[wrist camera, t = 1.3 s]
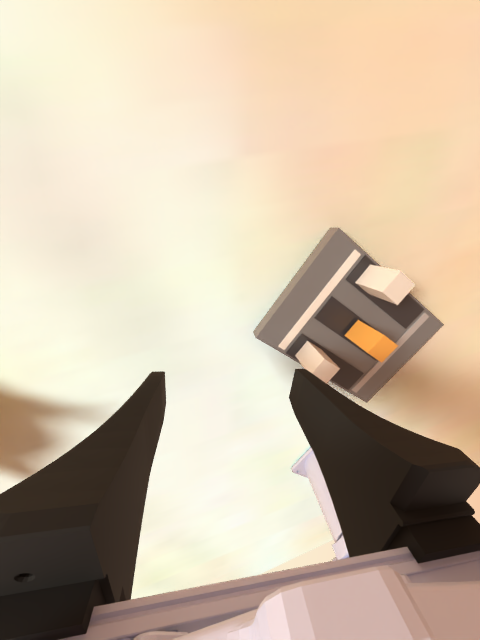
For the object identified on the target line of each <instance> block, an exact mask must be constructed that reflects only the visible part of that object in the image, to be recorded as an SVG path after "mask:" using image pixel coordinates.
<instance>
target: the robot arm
mask: <svg viewBox="0 0 480 640" xmlns="http://www.w3.org/2000/svg"><path fill="white" fill-rule="evenodd" d="M289 399H290V402H291V405H292V408H293V411H294V413H295V416H296V418H297V420H298V422H299V424H300V426H301V428H302V430H303V432H304V434H305V436H306V438H307V440H308V442H309V444H310V446H311V448H310V449H309V450H308V451H307V452H306V453H305V454H304V455H303V456H302V457H301V458H300V459H299V460H298V461H297V462H296V463H295V464H294V465H293V466H292V468H291V470H292V472H293V473H296V474H299V475H302V476H304V477H307V478H309V481H310V483H311V486H312V488H313V491H314V493H315V495H316V498H317V500H318V503H319V505H320V508H321V510H322V512H323V515H324V517H325V520H326V522H327V525H328V527H329V529H330V532H331V534H332V537H333V539H334V541H335V543H334V544H333V545H332V547H333V550H334V552H335V555H336V557H335V558H333V559H332V561H330V562H324V563H319V564H314V565H309V566H304V567H298V568H293V569H288V570H283V571H278V572H272V573H267V574H262V575H257V576H252V577H246V578H241V579H236V580H231V581H226V582H220V583H215V584H210V585H205V586H200V587H194V588H189V589H184V590H179V591H174V592H168V593H163V594H158V595H153V596H148V597H142V598H137V599H132V600H131V593H132V586H133V579H134V571H135V564H136V557H137V551H138V544H139V537H140V531H141V524H142V518H143V512H144V506H145V499H146V493H147V488H148V482H149V476H150V472H151V467H152V463H153V459H154V455H155V452H156V448H157V444H158V440H159V436H160V433H161V429H162V425H163V420H164V414H165V406H166V391H165V372H151V373H150V374H149V376H148V377H147V378H146V379H145V381H144V382H143V383H142V384H141V386H140V387H139V388H138V389H137V390H136V391H135V393H134V394H133V395H132V396H131V397H130V398H129V399H128V400H127V401H126V402H125V403H124V404H123V405H122V406H121V407H120V409H119V410H118V411H117V412H116V413H115V414H113V415H112V416H111V417H110V418H109V419H108V420H107V421H106V422H105V423H104V424H103V425H101V426H100V427H99V428H98V429H97V430H96V431H94V432H93V433H92V434H91V435H89V436H88V437H87V438H86V439H84V440H83V441H82V442H80V443H79V444H78V445H76V446H75V447H74V448H72V449H71V450H70V451H68V452H67V453H65V454H64V455H63V456H61V457H60V458H58V459H57V460H55V461H54V462H52V463H51V464H49V465H48V466H46V467H45V468H43V469H41V470H40V471H38V472H37V473H35V474H34V475H32V476H30V477H28V478H27V479H25V480H23V481H22V482H20V483H18V484H17V485H15V486H13V487H12V488H10V489H8V490H7V491H5V492H3V493H1V494H0V640H480V524H479V523H478V522H477V521H476V520H475V518H473V516H472V515H473V514H474V513H475V511H474V509H473V508H472V507H471V506H470V505H469V504H468V503H467V502H466V500H467V499H468V498H469V497H470V495H471V494H472V493H473V492H474V490H475V489H476V488H477V487H478V485H479V484H480V467H479V466H478V465H476V464H475V463H474V462H473V461H472V460H471V459H470V458H469V457H467V456H466V455H465V454H464V453H463V452H462V451H461V450H459V449H457V448H454V447H451V446H449V445H446V444H443V443H440V442H437V441H434V440H432V439H429V438H426V437H424V436H421V435H419V434H416V433H414V432H411V431H409V430H407V429H404V428H402V427H400V426H398V425H395V424H393V423H391V422H389V421H387V420H385V419H383V418H381V417H379V416H377V415H375V414H373V413H372V412H370V411H368V410H366V409H364V408H363V407H361V406H359V405H358V404H356V403H354V402H353V401H351V400H350V399H348V398H347V397H345V396H343V395H342V394H341V393H339V392H338V391H336V390H335V389H333V388H332V387H330V386H329V385H328V384H326V383H325V382H323V381H322V380H321V379H319V378H318V377H317V376H315V375H314V374H312V373H311V372H309V371H308V370H306V369H295V373H294V378H293V382H292V387H291V391H290V395H289Z"/></svg>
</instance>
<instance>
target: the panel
mask: <svg viewBox="0 0 480 640" xmlns="http://www.w3.org/2000/svg"><path fill="white" fill-rule="evenodd" d="M415 285H416V284H415V283H413V282H412V281H411V280H410V279H409V278H408V277H407V276H406V275H405V274H404V273H403V272H402V271H400V270H395V269H390V268H385V267H381V266H380V265H379V264H377V263H376V262H375V261H374V260H373V259H372V258H371V257H370V256H369V255H368V254H367V253H366V252H364V251H363V250H362V249H361V248H360V247H359V246H358V245H357V244H356V243H355V242H354V241H353V240H351V239H350V238H349V237H348V236H347V235H346V234H345V233H344V232H343V231H342V230H341V229H339V228H330V229H329V230H328V232H327V233H326V234H325V236H324V237H323V238H322V240H321V241H320V242H319V244H318V245H317V246H316V248H315V249H314V250H313V252H312V253H311V254H310V256H309V257H308V258H307V260H306V261H305V263H304V264H303V265H302V267H301V268H300V269H299V271H298V272H297V273H296V275H295V276H294V277H293V279H292V280H291V281H290V283H289V284H288V285H287V287H286V288H285V289H284V291H283V292H282V294H281V295H280V296H279V298H278V299H277V300H276V302H275V303H274V304H273V306H272V307H271V308H270V310H269V311H268V312H267V314H266V315H265V316H264V318H263V319H262V320H261V322H260V323H259V325H258V326H257V327H256V329H255V330H254V331H253V333H254V335H255V337H256V338H257V339H259V340H261V341H262V342H264V343H266V344H267V345H269V346H271V347H273V348H274V349H276V350H278V351H279V352H281V353H283V354H285V355H286V356H288V357H290V358H291V359H293V360H295V361H297V362H298V363H300V364H302V366H303V367H304V369H306V370H308V371H309V372H311V373H312V374H314V375H315V376H317V377H318V378H319V379H321V380H322V381H323V382H325V383H326V384H327V383H328V382H329V381H331V382H332V383H334V384H336V385H338V386H339V387H341V388H343V389H344V390H346V391H348V392H350V393H351V394H353V395H355V396H356V397H358V398H360V399H362V400H363V401H365V402H368V401H369V400H370V399H371V398H372V397H373V396H374V395H375V394H376V393H377V392H378V391H379V390H380V389H381V388H382V387H383V386H384V385H385V384H386V383H387V382H388V381H389V380H390V379H391V378H392V377H393V376H394V375H395V374H396V373H397V372H398V371H399V369H400V368H401V367H402V366H403V365H404V364H405V363H406V362H407V361H408V360H409V359H410V358H411V357H412V356H413V355H414V354H415V353H416V352H417V351H418V350H419V349H420V348H421V347H422V346H423V345H424V344H425V343H426V342H427V341H428V340H429V339H430V338H431V337H432V336H433V335H434V334H435V333H436V332H437V331H438V330H439V329H440V328H441V327H442V326H443V325H444V324H443V323H441V322H440V321H439V320H438V319H437V318H436V317H435V316H434V315H433V314H432V313H431V312H430V311H428V310H427V309H426V308H425V307H424V306H423V305H422V304H421V303H420V302H419V301H418V300H417V299H415V298H414V297H413V296H412V295H411V294H410V293H409V292H410V291H411V290H412V289H413V287H414V286H415ZM358 320H359V321H361V322H363V323H364V324H366V325H368V326H370V327H371V328H373V329H375V330H376V331H378V332H380V333H382V334H383V335H385V336H386V337H387V338H389V339H390V340H391V341H393V342H394V343H395V344H397V345H398V347H397V348H396V349H395V350H394V351H393V352H392V353H391V354H390V355H389V356H388V357H387V358H386V359H385V360H384V361H383V362H382V363H381V362H380V361H378V360H377V359H375V358H374V357H373V356H371V355H370V354H368V353H367V352H366V351H364V350H363V349H362V348H360V347H359V346H358V345H356V344H355V343H354V342H352V341H351V340H350V339H348V338H347V337H346V336H344V335H345V334H346V333H347V332H348V331H349V330H350V329H351V327H352V326H353V325H354V324H355V323H356V322H357V321H358Z"/></svg>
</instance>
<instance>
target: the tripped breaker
mask: <svg viewBox="0 0 480 640" xmlns="http://www.w3.org/2000/svg"><path fill="white" fill-rule="evenodd" d="M344 336H346V337H347V338H348V339H350V340H351V341H352V342H354V343H355V344H356V345H358V346H359V347H360V348H362V349H363V350H364V351H366V352H367V353H368V354H370V355H371V356H373V357H374V358H375V359H377V360H378V361H380V362H381V363H382V362H383V361H384V360H385V359H386V358H387V357H388V356H389V355H390V354H391V353H392V352H393V351H394V350H395V349H396V348H397V347H398V345H397V344H395V343H394V342H393V341H391V340H390V339H389V338H387V337H386V336H385V335H383V334H382V333H380V332H378V331H376V330H375V329H373V328H371V327H370V326H368V325H366V324H364V323H363V322H361V321H359V320H358V321H357V322H356V323H355V324H354V325H353V326H352V327H351V329H350V330H349V331H348V332H347V333H346V334H345V335H344Z"/></svg>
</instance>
